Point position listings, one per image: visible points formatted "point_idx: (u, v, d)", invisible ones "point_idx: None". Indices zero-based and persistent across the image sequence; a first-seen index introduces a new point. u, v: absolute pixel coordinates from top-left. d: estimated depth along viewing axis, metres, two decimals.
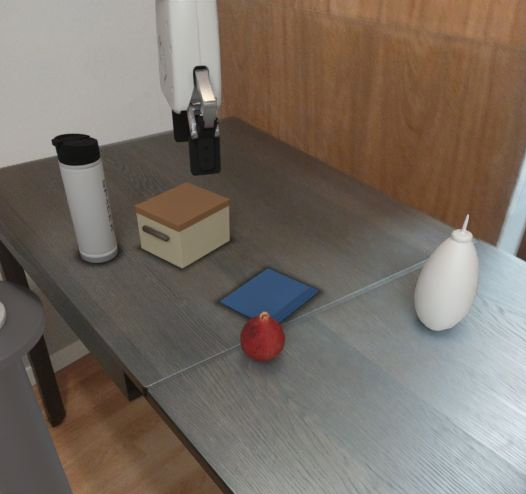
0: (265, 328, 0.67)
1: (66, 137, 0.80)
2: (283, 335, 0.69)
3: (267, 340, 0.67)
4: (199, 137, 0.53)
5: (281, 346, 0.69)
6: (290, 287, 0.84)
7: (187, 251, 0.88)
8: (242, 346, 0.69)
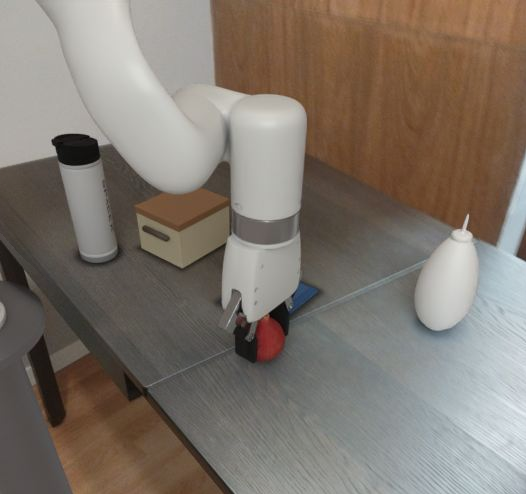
0: (265, 328, 0.67)
1: (66, 138, 0.80)
2: (283, 335, 0.69)
3: (267, 340, 0.67)
4: None
5: (281, 346, 0.69)
6: None
7: (187, 251, 0.88)
8: None
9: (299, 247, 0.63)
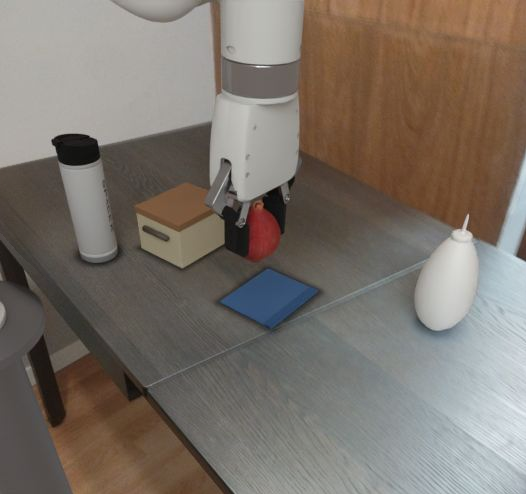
0: (259, 217, 0.60)
1: (66, 138, 0.80)
2: (278, 229, 0.62)
3: (261, 232, 0.60)
4: None
5: (276, 241, 0.62)
6: (290, 287, 0.84)
7: (187, 251, 0.88)
8: None
9: (298, 118, 0.56)
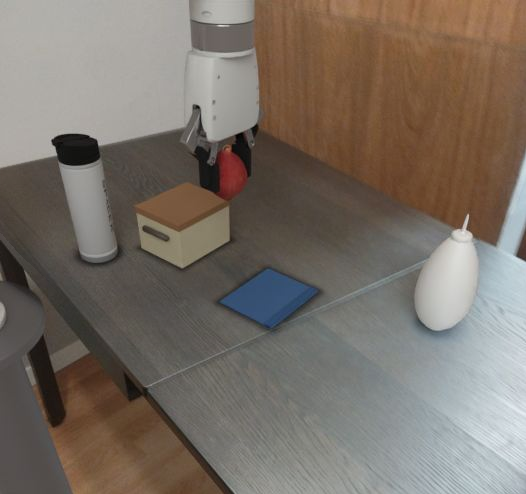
0: (227, 158, 0.72)
1: (66, 138, 0.80)
2: (245, 170, 0.74)
3: (229, 170, 0.72)
4: (197, 159, 0.70)
5: (243, 180, 0.73)
6: (290, 287, 0.84)
7: (187, 251, 0.88)
8: None
9: (256, 73, 0.68)
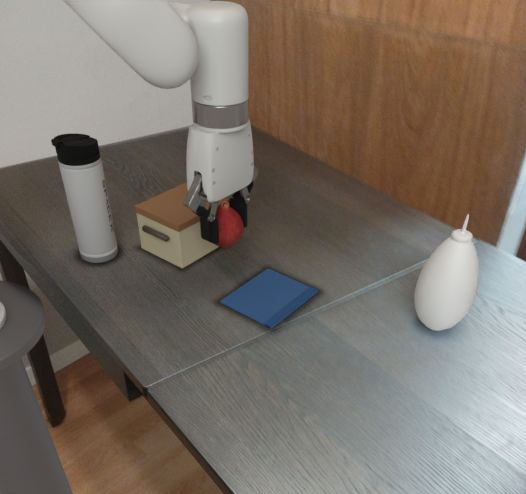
0: (225, 214, 0.80)
1: (66, 138, 0.80)
2: (241, 222, 0.82)
3: (227, 224, 0.80)
4: (198, 216, 0.78)
5: (240, 231, 0.82)
6: (290, 287, 0.84)
7: (187, 251, 0.88)
8: None
9: (251, 140, 0.76)
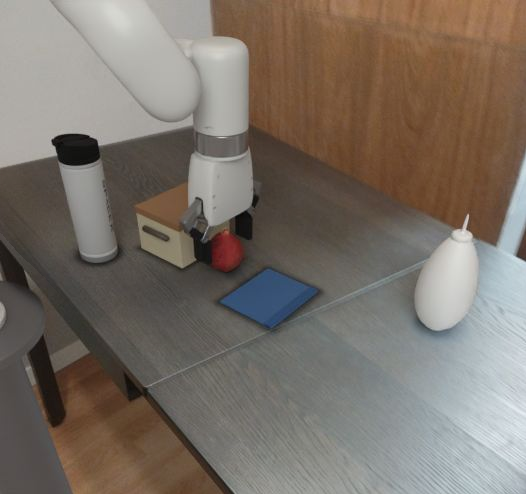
0: (226, 240, 0.83)
1: (66, 138, 0.80)
2: (241, 248, 0.85)
3: (228, 250, 0.83)
4: (192, 237, 0.79)
5: (239, 257, 0.84)
6: (290, 287, 0.84)
7: (187, 251, 0.88)
8: None
9: (251, 167, 0.78)
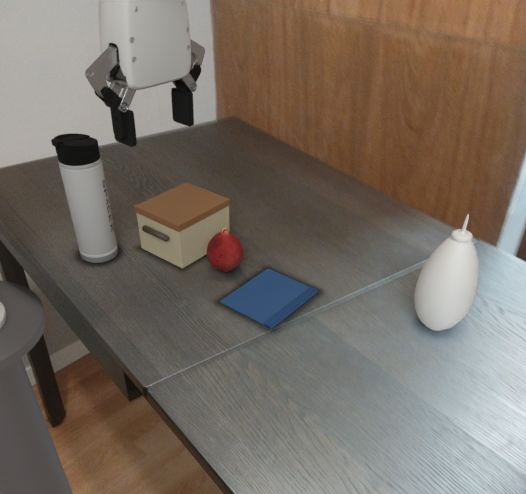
0: (226, 240, 0.83)
1: (66, 138, 0.80)
2: (241, 248, 0.85)
3: (228, 250, 0.83)
4: (108, 105, 0.60)
5: (239, 257, 0.84)
6: (290, 287, 0.84)
7: (187, 251, 0.88)
8: (208, 257, 0.85)
9: (185, 12, 0.59)
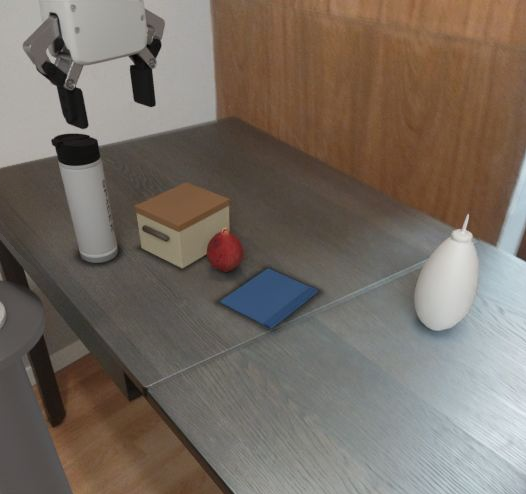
0: (226, 240, 0.83)
1: (66, 138, 0.80)
2: (241, 248, 0.85)
3: (228, 250, 0.83)
4: (53, 83, 0.55)
5: (239, 256, 0.84)
6: (290, 287, 0.84)
7: (187, 251, 0.88)
8: (208, 257, 0.85)
9: None
